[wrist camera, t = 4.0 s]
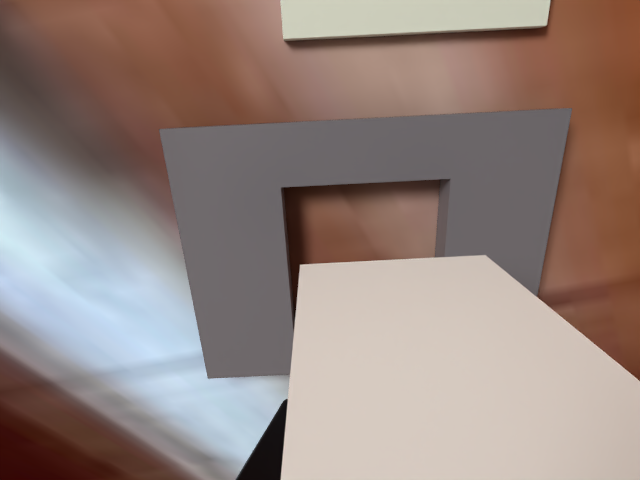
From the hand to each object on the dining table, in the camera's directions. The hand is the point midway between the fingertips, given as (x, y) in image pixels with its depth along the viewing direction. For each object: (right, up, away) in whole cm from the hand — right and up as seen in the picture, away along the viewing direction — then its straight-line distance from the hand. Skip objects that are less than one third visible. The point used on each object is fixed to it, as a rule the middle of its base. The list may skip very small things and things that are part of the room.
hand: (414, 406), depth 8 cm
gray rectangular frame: (0, +3, +9) cm, 9 cm away
